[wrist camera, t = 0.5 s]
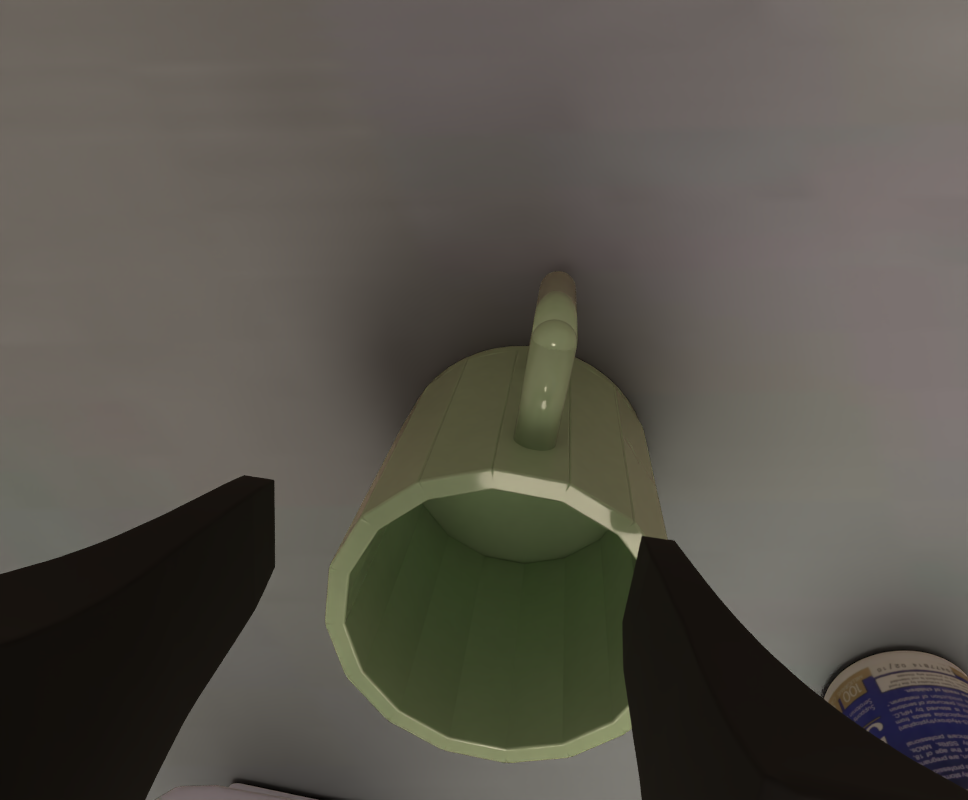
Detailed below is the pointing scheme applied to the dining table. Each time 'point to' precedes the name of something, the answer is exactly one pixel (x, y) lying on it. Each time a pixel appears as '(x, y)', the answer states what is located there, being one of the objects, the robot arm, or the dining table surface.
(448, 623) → the mug
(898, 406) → the dining table surface
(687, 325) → the dining table surface
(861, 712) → the pill bottle
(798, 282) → the dining table surface
